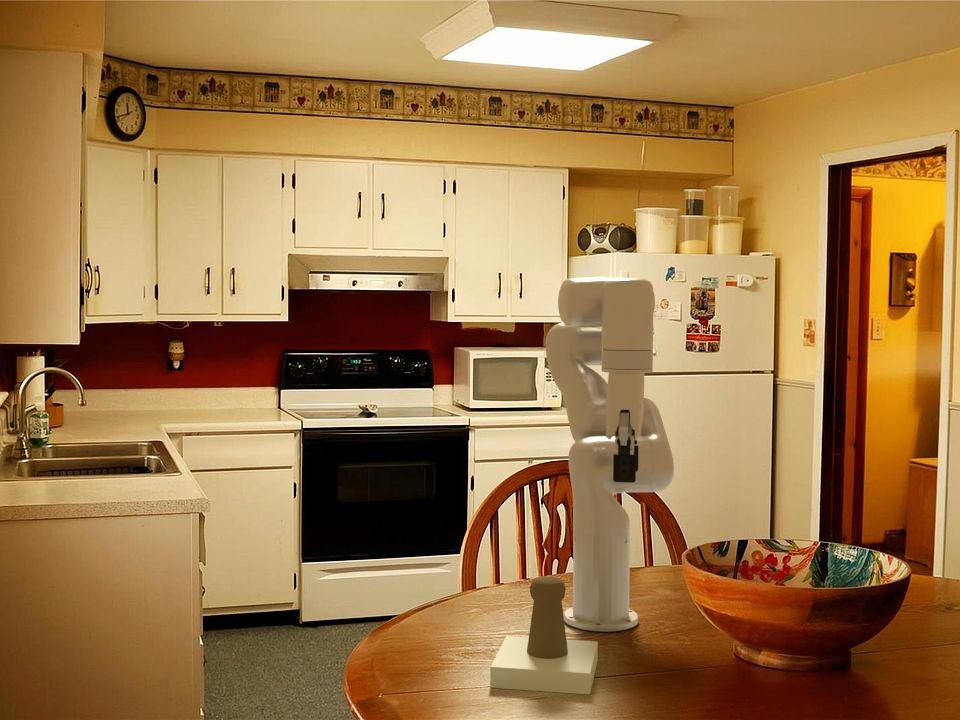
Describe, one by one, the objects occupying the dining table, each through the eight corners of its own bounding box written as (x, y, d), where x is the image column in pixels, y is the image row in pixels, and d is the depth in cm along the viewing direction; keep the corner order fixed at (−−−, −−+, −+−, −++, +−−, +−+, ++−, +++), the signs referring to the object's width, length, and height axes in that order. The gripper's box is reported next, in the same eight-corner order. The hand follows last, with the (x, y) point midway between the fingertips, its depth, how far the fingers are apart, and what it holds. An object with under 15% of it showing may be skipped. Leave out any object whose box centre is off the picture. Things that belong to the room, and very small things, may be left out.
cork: (565, 645, 159) (566, 572, 159) (570, 658, 153) (570, 583, 153) (525, 645, 159) (525, 572, 159) (528, 658, 153) (528, 583, 153)
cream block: (506, 655, 164) (506, 635, 164) (597, 660, 161) (597, 641, 161) (490, 687, 150) (490, 666, 150) (589, 694, 148) (589, 673, 147)
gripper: (605, 358, 167) (604, 466, 168) (597, 365, 150) (596, 485, 151) (654, 359, 166) (652, 468, 167) (651, 365, 149) (649, 487, 150)
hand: (626, 476), depth 159 cm, fingers open, 9 cm apart
